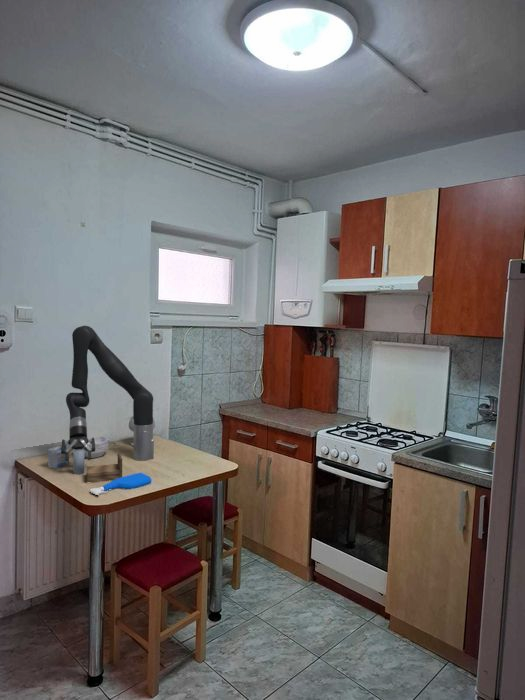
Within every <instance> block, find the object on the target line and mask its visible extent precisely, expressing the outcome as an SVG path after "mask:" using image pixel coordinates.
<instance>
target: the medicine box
mask: <svg viewBox="0 0 525 700" xmlns="http://www.w3.org/2000/svg"><path fill="white" fill-rule="evenodd" d="M61 447H62V444H59V445H56V446H54V447H51V448H49V449H47V468H50V469H58V468H60V467H62V466H64V465H66V464H67V463H68V462H67V461H66V455H65V454H61ZM64 450H67V445H66V446H65V449H64Z"/></svg>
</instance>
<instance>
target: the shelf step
mask: <svg viewBox="0 0 525 700" xmlns="http://www.w3.org/2000/svg"><path fill="white" fill-rule="evenodd" d="M121 477H123V458H122V455H121V453H120V452H117V463H113V464H101V465H91V466H90V465H89V466H86V482H92V483H100V482H99V481H102V482H109V480H112V481H113V480H115V479H118V478H121Z"/></svg>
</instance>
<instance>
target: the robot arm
mask: <svg viewBox="0 0 525 700" xmlns="http://www.w3.org/2000/svg"><path fill="white" fill-rule="evenodd" d="M71 337H72V348H73V352H72V353H73V362H72V364H73V365H72V366H73V367H72V374H71V375H72V376H71V387H72V388H74V389H77V390H80V391H81V392H69V393H67V395H66V397H65V402H66V406H67V408H68V411H69V429H68V430H69V433H68V435H69V436H68V437H69V438H68V440H65V439H61V445H62V447H61V454H65V455H66V461H67V463H70V454H71V452H73V451H74V450H77V449H83V448H84V449H85V450H86V451H87V452H88V458H87V461H90V460H91V459H92V458H91V452H95V440H94V438H92V439H88V438H87V437H88V426H87V425H88V423H87V412H86V409H84V408H86V407H88V405H89V404H90V395H89V392H88V378H89V376H88V375H89V366H88V353H89V352H91V354H92V355H93V356H94V357H95V359H96V361H97V363H98V365H99V367H100V368H101V369H102V371H103V372H104V373H105V374H106V375H107V377H108V378H110V380H112V381H113V382H114V383H115V384H117V385H118V386H120V387H121V388H122V389H123V390H125V391H126V392H127V393H128V394H129V396H130V397H131V399H132V400H133V401H132V402H133V405H132V408H133V409H132V414H133V415H132V417H133V419H134V432H133V442H134V446H133V459H134V460H136V461H148V460H152V459H153V460H154V457H155V456H154V452H155V451H154V449H155V445H154V442H155V440H154V429H153V418H154V415H153V414H154V395H153V394H152V392H151V391H149V390H148V389H147V388H145V387H144V386H143V385H142V384H141V383H140V382H139V381H138V380H137V379H136V377H135V375H133V373H132V372H131V371H130V370H129V369H128V367H127V366H126V364H124V363H123V362H122V360H121V359H120V358H119V357H117V355H116V354H115V353H114V352H113V351H112V350H111V349H110V348H109V347H108V346H107V345H106V344H105V343H104V342H103V341H102V339H101V338H100V336H99V335H98V334H97V332H96V331H95V330H94V329H93V327H91V326H89V325H81V326H78V327H76V328H75V329H74V330H73V331H72V335H71ZM88 351H89V352H88ZM88 442H90V444H92V448H90V447H89V446H88V445H87V443H88ZM67 445H69V446H68V448H66V450H64V449H65V446H66V447H67Z"/></svg>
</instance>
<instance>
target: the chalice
mask: <svg viewBox="0 0 525 700" xmlns="http://www.w3.org/2000/svg"><path fill="white" fill-rule="evenodd" d="M155 422H156V421H155V418H154V417H153V430H154V429H155V427H156V423H155ZM128 429H129V430H130V431H131V432H132V433H134V419H133V416H131V417H130V418H129V422H128ZM130 446H132V447H134V441H132V442H130Z"/></svg>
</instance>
